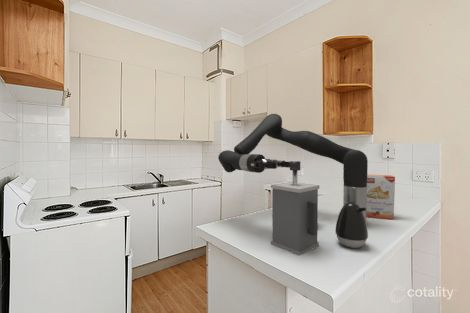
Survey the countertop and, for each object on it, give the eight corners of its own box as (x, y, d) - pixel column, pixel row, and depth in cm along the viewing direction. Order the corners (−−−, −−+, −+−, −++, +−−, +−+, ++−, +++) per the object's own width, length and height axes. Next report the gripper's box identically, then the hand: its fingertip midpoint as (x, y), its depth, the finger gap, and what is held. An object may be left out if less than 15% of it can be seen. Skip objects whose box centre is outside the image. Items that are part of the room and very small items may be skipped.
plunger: (292, 235, 87) (292, 160, 86) (310, 241, 81) (310, 161, 80) (279, 240, 82) (279, 161, 81) (297, 247, 76) (297, 162, 75)
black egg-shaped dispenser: (353, 253, 75) (354, 207, 74) (329, 242, 84) (329, 200, 84) (375, 248, 79) (375, 203, 78) (349, 237, 88) (349, 198, 88)
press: (291, 235, 90) (291, 181, 89) (324, 247, 79) (325, 186, 79) (270, 244, 82) (270, 184, 82) (305, 258, 72) (305, 190, 71)
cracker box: (361, 217, 115) (361, 175, 114) (359, 213, 120) (360, 173, 120) (394, 220, 110) (395, 176, 109) (391, 216, 115) (392, 174, 114)
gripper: (239, 154, 92) (270, 155, 80) (264, 153, 101) (295, 154, 89) (239, 173, 93) (270, 176, 80) (264, 170, 102) (295, 174, 89)
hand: (283, 165), depth 85 cm, fingers open, 8 cm apart
